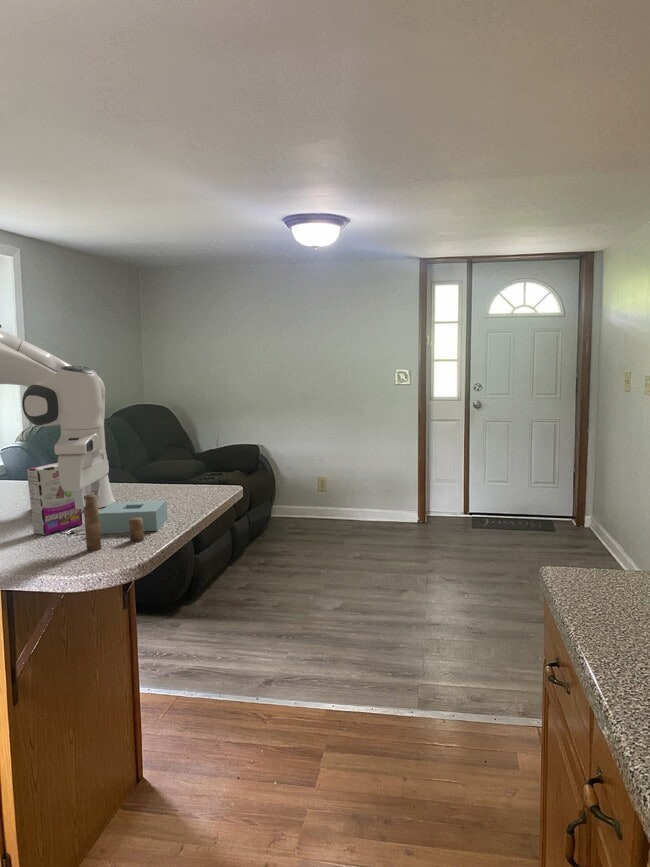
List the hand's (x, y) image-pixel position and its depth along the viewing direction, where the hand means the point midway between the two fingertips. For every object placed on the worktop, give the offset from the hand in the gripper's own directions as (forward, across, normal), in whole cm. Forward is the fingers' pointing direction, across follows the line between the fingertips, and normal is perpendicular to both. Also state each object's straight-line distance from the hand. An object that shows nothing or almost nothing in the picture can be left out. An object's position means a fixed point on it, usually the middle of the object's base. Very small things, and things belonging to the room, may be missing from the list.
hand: (88, 503), depth 144 cm
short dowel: (+10, -6, +8) cm, 15 cm away
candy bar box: (+11, -19, -15) cm, 26 cm away
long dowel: (+10, 0, 0) cm, 10 cm away
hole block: (+10, -19, +4) cm, 22 cm away
